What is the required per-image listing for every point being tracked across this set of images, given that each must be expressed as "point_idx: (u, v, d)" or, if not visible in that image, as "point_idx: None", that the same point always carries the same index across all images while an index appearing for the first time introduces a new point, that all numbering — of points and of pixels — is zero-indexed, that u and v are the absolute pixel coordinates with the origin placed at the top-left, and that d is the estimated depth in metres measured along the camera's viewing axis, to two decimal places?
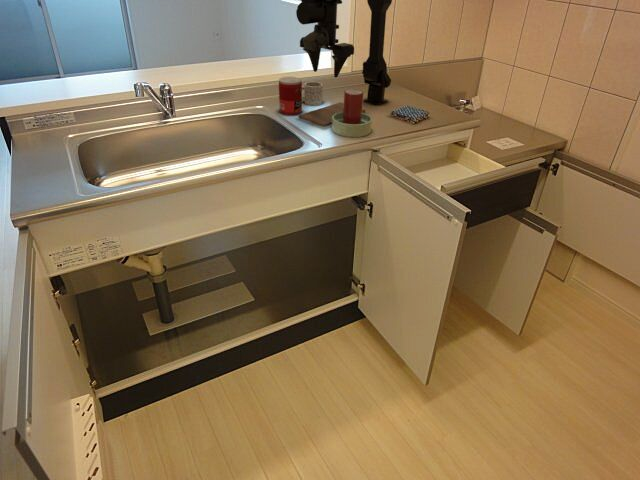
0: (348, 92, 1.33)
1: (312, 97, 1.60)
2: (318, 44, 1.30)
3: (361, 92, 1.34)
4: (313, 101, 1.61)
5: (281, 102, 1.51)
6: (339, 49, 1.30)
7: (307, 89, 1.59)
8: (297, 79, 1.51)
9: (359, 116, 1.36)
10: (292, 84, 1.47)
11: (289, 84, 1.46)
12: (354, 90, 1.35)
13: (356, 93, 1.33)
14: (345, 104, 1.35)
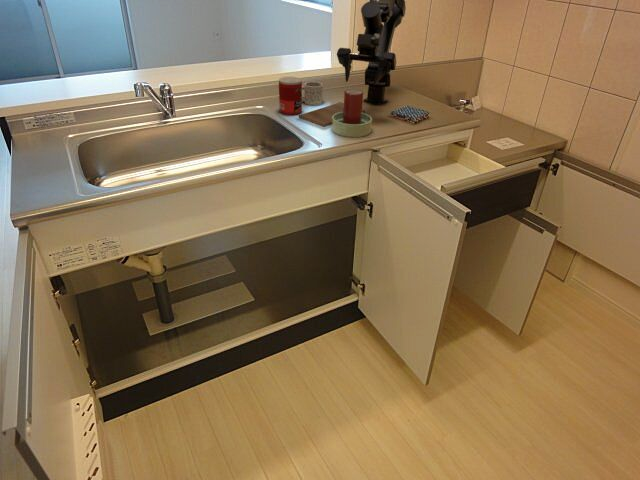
0: (348, 92, 1.33)
1: (312, 97, 1.60)
2: (376, 39, 1.33)
3: (361, 92, 1.34)
4: (313, 101, 1.61)
5: (281, 102, 1.51)
6: (391, 53, 1.36)
7: (307, 89, 1.59)
8: (297, 79, 1.51)
9: (359, 116, 1.36)
10: (292, 84, 1.47)
11: (289, 84, 1.46)
12: (354, 90, 1.35)
13: (356, 93, 1.33)
14: (345, 104, 1.35)
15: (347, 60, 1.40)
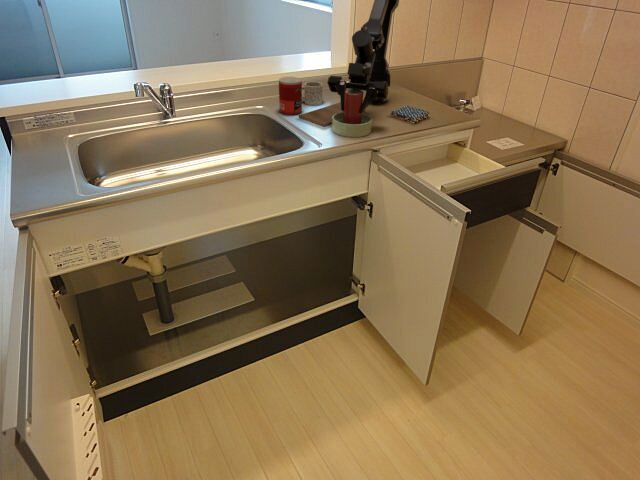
0: (348, 92, 1.33)
1: (312, 97, 1.60)
2: (368, 69, 1.30)
3: (361, 92, 1.34)
4: (313, 101, 1.61)
5: (281, 102, 1.51)
6: (383, 82, 1.33)
7: (307, 89, 1.59)
8: (297, 79, 1.51)
9: (359, 116, 1.36)
10: (292, 84, 1.47)
11: (289, 84, 1.46)
12: (354, 90, 1.35)
13: (356, 93, 1.33)
14: (345, 104, 1.35)
15: (343, 89, 1.36)
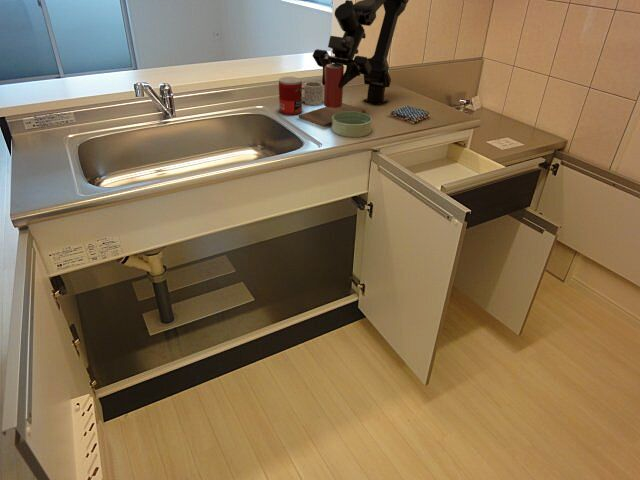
0: (328, 66, 1.33)
1: (312, 97, 1.60)
2: (347, 42, 1.29)
3: (341, 66, 1.33)
4: (313, 101, 1.61)
5: (281, 102, 1.51)
6: (363, 57, 1.31)
7: (307, 89, 1.59)
8: (297, 79, 1.51)
9: (339, 91, 1.36)
10: (292, 84, 1.47)
11: (289, 84, 1.46)
12: (336, 64, 1.35)
13: (335, 67, 1.32)
14: (325, 78, 1.35)
15: (325, 63, 1.36)
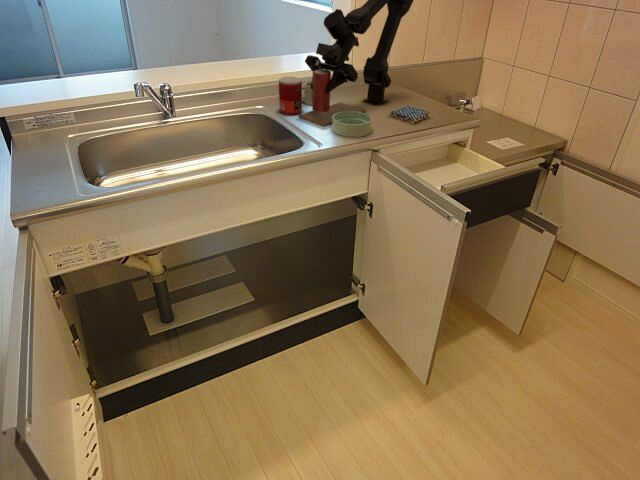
0: (315, 72, 1.38)
1: None
2: (332, 50, 1.33)
3: (327, 73, 1.38)
4: None
5: (281, 102, 1.51)
6: (348, 65, 1.35)
7: (307, 89, 1.59)
8: (297, 79, 1.51)
9: (325, 96, 1.41)
10: (292, 84, 1.47)
11: (289, 84, 1.46)
12: (324, 70, 1.40)
13: (321, 73, 1.37)
14: (312, 83, 1.40)
15: (315, 69, 1.42)
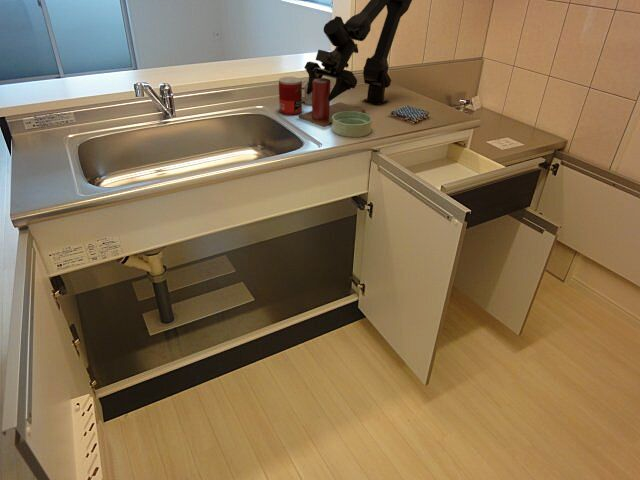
0: (315, 80, 1.40)
1: None
2: (332, 56, 1.34)
3: (327, 81, 1.39)
4: None
5: (281, 102, 1.51)
6: (347, 71, 1.36)
7: None
8: (297, 79, 1.51)
9: (324, 104, 1.42)
10: (292, 84, 1.47)
11: (289, 84, 1.46)
12: (323, 79, 1.41)
13: (321, 81, 1.39)
14: (312, 91, 1.42)
15: (311, 74, 1.43)
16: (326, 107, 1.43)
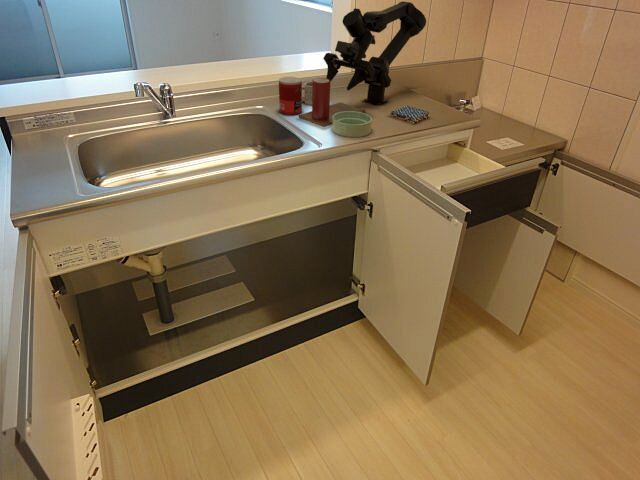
0: (315, 80, 1.40)
1: None
2: (351, 47, 1.39)
3: (327, 81, 1.39)
4: None
5: (281, 102, 1.51)
6: (366, 62, 1.41)
7: (307, 89, 1.59)
8: (297, 79, 1.51)
9: (324, 104, 1.42)
10: (292, 84, 1.47)
11: (289, 84, 1.46)
12: (323, 79, 1.41)
13: (321, 81, 1.39)
14: (312, 91, 1.42)
15: (330, 65, 1.49)
16: (326, 107, 1.43)
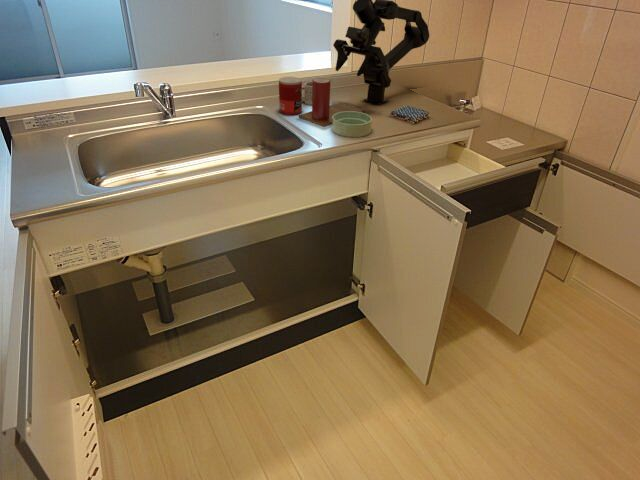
0: (315, 80, 1.40)
1: None
2: (362, 33, 1.40)
3: (327, 81, 1.39)
4: None
5: (281, 102, 1.51)
6: (376, 47, 1.42)
7: (307, 89, 1.59)
8: (297, 79, 1.51)
9: (324, 104, 1.42)
10: (292, 84, 1.47)
11: (289, 84, 1.46)
12: (323, 79, 1.41)
13: (321, 81, 1.39)
14: (312, 91, 1.42)
15: (340, 51, 1.50)
16: (326, 107, 1.43)
